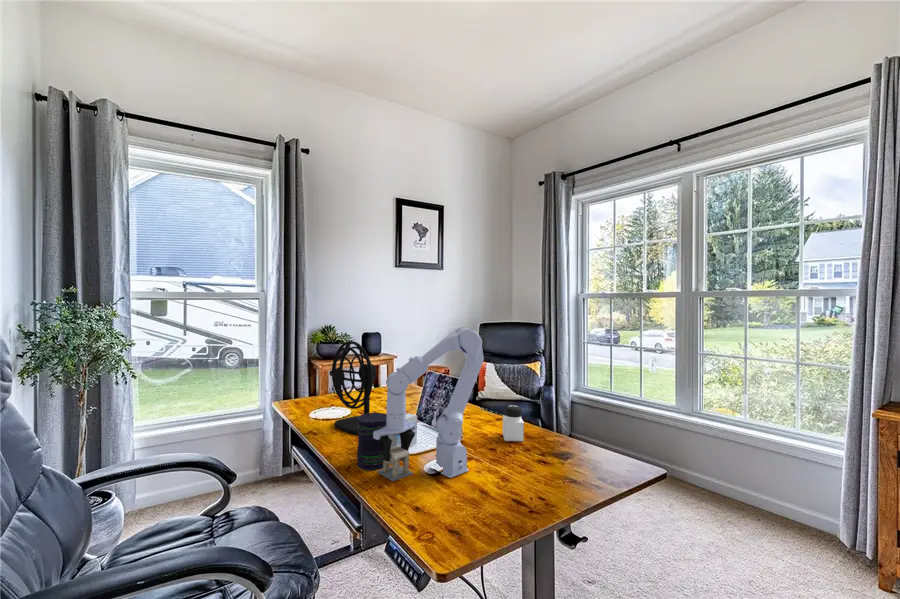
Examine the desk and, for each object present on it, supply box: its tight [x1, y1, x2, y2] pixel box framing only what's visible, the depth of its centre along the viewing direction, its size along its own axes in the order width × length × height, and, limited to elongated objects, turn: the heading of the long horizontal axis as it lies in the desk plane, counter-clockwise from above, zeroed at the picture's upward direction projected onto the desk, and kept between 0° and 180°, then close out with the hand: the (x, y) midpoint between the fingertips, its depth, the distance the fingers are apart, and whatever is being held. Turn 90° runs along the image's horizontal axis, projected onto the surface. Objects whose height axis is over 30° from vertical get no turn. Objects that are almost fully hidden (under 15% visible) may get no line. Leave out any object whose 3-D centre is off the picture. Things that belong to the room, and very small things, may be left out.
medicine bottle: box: [502, 405, 525, 442], centre depth 156 cm, size 7×7×12 cm
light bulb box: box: [388, 412, 418, 448], centre depth 145 cm, size 11×7×11 cm, turn 143°
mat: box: [376, 464, 414, 482], centre depth 123 cm, size 8×8×1 cm
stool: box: [382, 446, 410, 478], centre depth 123 cm, size 6×5×6 cm
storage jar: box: [356, 412, 387, 471], centre depth 130 cm, size 10×10×15 cm
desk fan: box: [329, 341, 377, 435], centre depth 166 cm, size 27×18×35 cm, turn 47°
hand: (395, 457), depth 123 cm, fingers open, 6 cm apart
